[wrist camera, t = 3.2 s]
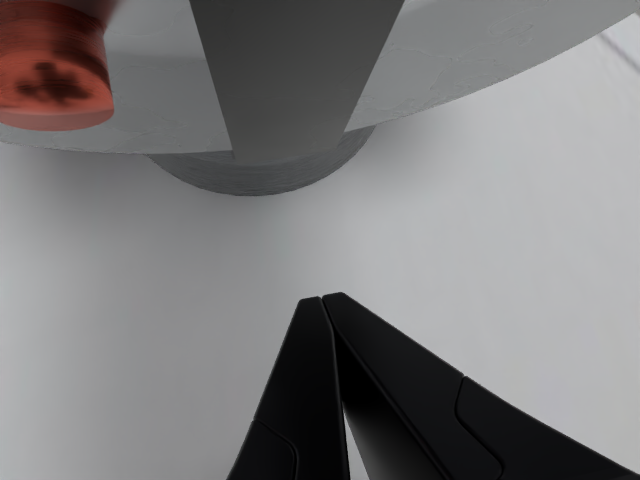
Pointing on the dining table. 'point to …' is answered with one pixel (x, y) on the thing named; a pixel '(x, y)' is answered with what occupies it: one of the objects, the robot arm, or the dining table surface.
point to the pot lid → (261, 67)
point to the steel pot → (260, 168)
